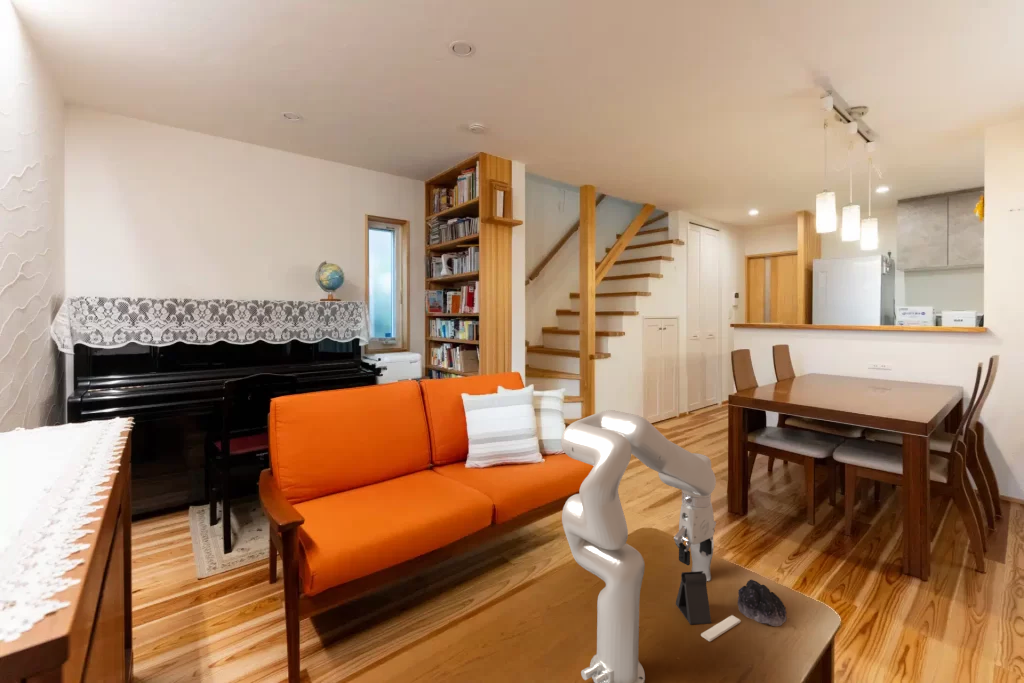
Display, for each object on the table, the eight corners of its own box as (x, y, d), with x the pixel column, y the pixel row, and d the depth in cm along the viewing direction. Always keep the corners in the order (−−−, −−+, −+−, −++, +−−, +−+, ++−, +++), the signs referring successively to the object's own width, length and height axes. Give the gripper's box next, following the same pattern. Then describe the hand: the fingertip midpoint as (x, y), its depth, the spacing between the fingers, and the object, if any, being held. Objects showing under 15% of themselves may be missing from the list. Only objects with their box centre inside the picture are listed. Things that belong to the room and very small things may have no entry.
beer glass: (690, 580, 142) (691, 535, 142) (688, 568, 149) (689, 525, 148) (714, 584, 140) (715, 538, 139) (711, 572, 147) (712, 528, 146)
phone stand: (711, 623, 122) (712, 581, 122) (690, 625, 122) (691, 582, 121) (695, 602, 131) (696, 563, 131) (675, 604, 131) (676, 564, 130)
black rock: (768, 598, 135) (765, 565, 135) (801, 625, 121) (797, 589, 121) (726, 604, 133) (723, 571, 134) (755, 633, 120) (751, 595, 120)
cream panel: (709, 641, 116) (709, 639, 116) (700, 635, 118) (701, 633, 118) (740, 622, 123) (740, 620, 123) (731, 616, 125) (731, 614, 125)
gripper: (688, 511, 117) (687, 574, 118) (726, 496, 126) (725, 554, 127) (664, 501, 123) (664, 560, 125) (703, 487, 133) (702, 542, 134)
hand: (695, 557), depth 126 cm, fingers open, 9 cm apart
